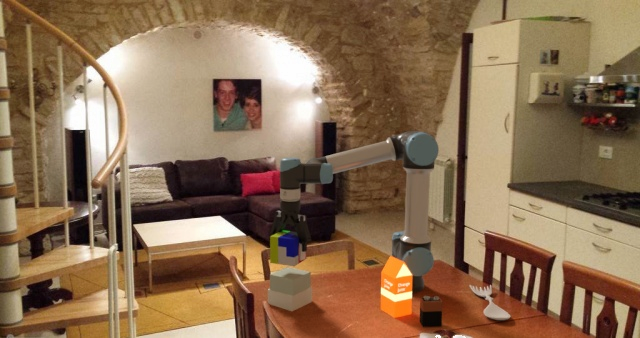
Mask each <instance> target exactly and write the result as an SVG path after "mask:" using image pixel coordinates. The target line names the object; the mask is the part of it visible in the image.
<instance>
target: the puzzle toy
mask: <svg viewBox="0 0 640 338" xmlns="http://www.w3.org/2000/svg"><path fill="white" fill-rule="evenodd" d="M269 239H270V240H269V246H270V247H269V253H270V254H269V257H270V258H269V259H270V260H269V261H270V264H276V265H283V266H287V267H296V266H297V265H299V264H301V263H302V262H304V261H305V260H306V259H304V260H302V261H300V260H299V243H301V241H300V239H299V237H298V235H297V233H296V231H292V230H291V231H290V230H285V229H283V231H281V232H278V233H276V234H274V235H270V236H269ZM303 240H304V239H303Z"/></svg>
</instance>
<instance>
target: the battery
mask: <svg viewBox="0 0 640 338" xmlns="http://www.w3.org/2000/svg"><path fill="white" fill-rule="evenodd" d="M419 323H420V325H421V326H422V328H436V327H437V328H438V327H440V328H441V327H442V325H443V324H442V323H443V301H442V299H441V298H440V297H439V296H437V295H435V296H433V297H431V296H428V295H424V296H423V297H420V298H419Z"/></svg>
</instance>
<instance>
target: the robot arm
mask: <svg viewBox="0 0 640 338" xmlns="http://www.w3.org/2000/svg"><path fill="white" fill-rule="evenodd" d="M439 152H440V151H439V145H438V142H437V140H436V139H435V138H434V136H432V135H431V134H430V133H428V132H425V131H419V130H415V129H413V130H408V131H406V132H401V133H400V134H397V135H396V134H395V135H393V136H390V137H389V136H388V137H387V138H386V140H383V141H380V142H376V143H372V144H369V145H368V144H367V145H364V146H359V147H356V148H352V149H349V150H348V149H347V150H344V151H340V152H337V153H333V154H330V155H326V156H321V157H318V158H317V157H312V158H309V159H308V160H307V161H306V162H305V163H303V162H301V159H300V158H299V157H284V158H282V159H280V161H279V190H280V191H279V192H280V193H279V197H280V198H279V199H280V201H279V204H280V205H279V209H280V210H276V211H274V218H273V221H272V224H271V229H270V233H269V234H270V236H272V235H274V234H276V233H278V232H281V231H283V230H285V228H286V226H287V225H289V226H290V225H291V226H292V228H294V230H295V232H296V233H297V235H298V237H299V239H300V241H301V243H299V260H300V261H302V260H304V259H305V260H306V259H307V250H308V243H309V242H312V236H311V233H310V230H309V226H308V221H307V217H308V216H307V215H306V214H304V215H303V214H300V210H301V200H300V199H301V184H304V185H306V184H309V185H310V184H314V185H315V184H317V185H318V184H321V185H325V184H331V183H332V182H333V179H334V174H339V173H341V172H342V173H343V172H345V171H346V172H347V171H348V170H354V169H357V168H361V167H367V166H370V165H373V164H377V163H382V162H385V161H389V160H392V162H396V161H400V160H402V168H403V170H404V171H405V172H406V182H405V211H404V230H403V231H396V232H395V231H394V232H393V233H392V239H391V256H392V257H394V258H397V259H399V260H401V261H403V262H405V264H406V266H407V267H408V269H409V270H410V272H411V274H412V275H413V276H412V294H413V293H420V292H422V291H423V290H424V289H425V280H424V277H423V276H424V275H427V274H428V273H429V272H430V271H431V269H432V268H433V267H434V263H435V259H434V255H433V253H432V239H431V238H430V236H429V235H428V229H429V205H430V204H429V203H430V180H431V179H430V178H431V177H430V176H431V172H433V171H434V170H435V161H436V160H437V158H438V155H439ZM303 239H304V240H303ZM305 260H304V261H305ZM302 262H303V261H302Z"/></svg>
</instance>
